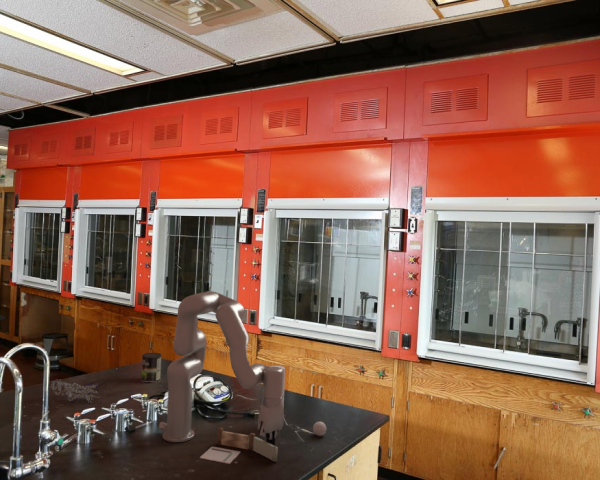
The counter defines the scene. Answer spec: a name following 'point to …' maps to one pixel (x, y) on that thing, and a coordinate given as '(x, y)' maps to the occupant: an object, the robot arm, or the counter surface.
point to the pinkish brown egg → (319, 428)
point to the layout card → (220, 455)
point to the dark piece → (74, 390)
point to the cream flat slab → (265, 449)
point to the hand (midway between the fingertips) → (270, 448)
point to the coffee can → (151, 366)
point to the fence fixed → (235, 439)
